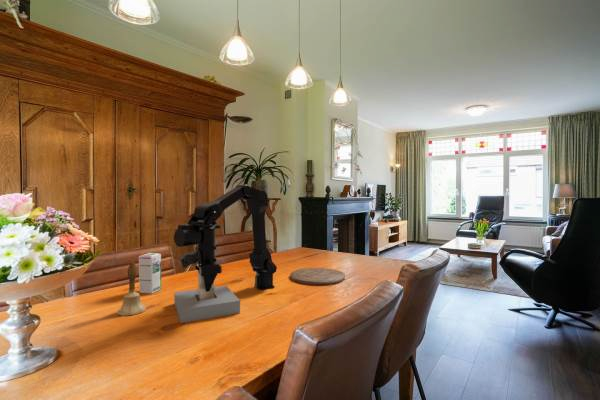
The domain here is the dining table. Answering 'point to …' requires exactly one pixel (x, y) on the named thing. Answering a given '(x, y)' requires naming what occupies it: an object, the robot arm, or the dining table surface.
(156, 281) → the syrup box
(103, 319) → the dining table surface
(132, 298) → the hand bell
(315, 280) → the trivet
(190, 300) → the socket block
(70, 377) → the dining table surface
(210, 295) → the birch peg
